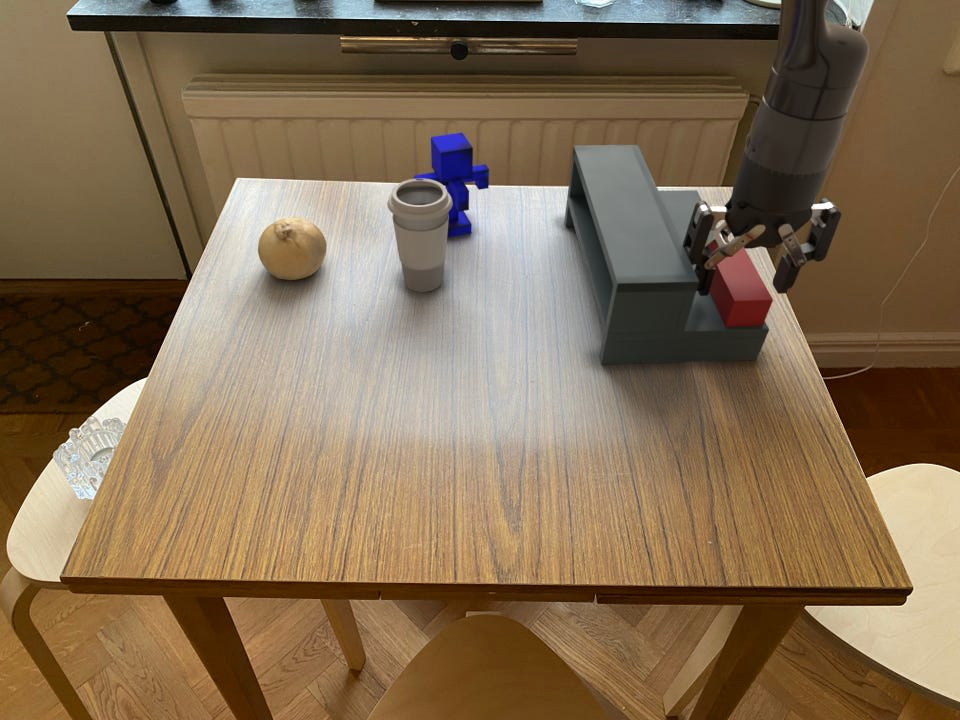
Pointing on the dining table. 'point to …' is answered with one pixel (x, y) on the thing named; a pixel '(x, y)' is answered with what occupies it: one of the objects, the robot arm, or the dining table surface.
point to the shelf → (645, 265)
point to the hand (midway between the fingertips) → (740, 290)
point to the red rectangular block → (740, 292)
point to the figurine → (456, 176)
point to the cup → (421, 231)
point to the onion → (292, 248)
